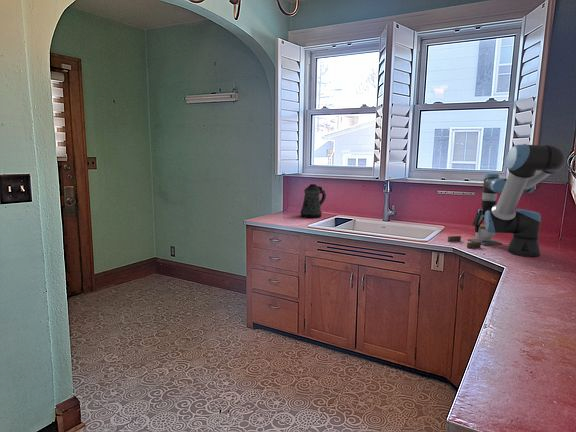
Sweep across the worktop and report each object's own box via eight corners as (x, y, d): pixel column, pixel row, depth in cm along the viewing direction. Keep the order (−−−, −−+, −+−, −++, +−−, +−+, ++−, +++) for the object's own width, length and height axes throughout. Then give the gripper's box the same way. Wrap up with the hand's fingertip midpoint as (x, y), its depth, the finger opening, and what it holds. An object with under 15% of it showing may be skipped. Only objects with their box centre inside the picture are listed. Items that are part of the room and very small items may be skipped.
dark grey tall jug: (296, 216, 307) (296, 184, 303) (310, 213, 323) (311, 182, 318) (314, 219, 298) (315, 186, 293) (327, 216, 313) (328, 184, 308)
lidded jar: (490, 237, 240) (492, 221, 238) (497, 241, 229) (499, 225, 227) (472, 236, 241) (473, 221, 239) (478, 240, 230) (480, 224, 228)
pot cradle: (480, 247, 223) (480, 242, 222) (468, 248, 220) (469, 243, 220) (458, 240, 239) (459, 235, 238) (447, 241, 236) (448, 236, 236)
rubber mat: (501, 244, 231) (502, 243, 231) (484, 245, 227) (484, 244, 227) (484, 239, 243) (484, 237, 243) (467, 240, 239) (467, 239, 239)
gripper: (499, 198, 238) (495, 234, 242) (468, 199, 231) (464, 236, 235) (509, 200, 231) (505, 237, 235) (477, 201, 224) (473, 239, 228)
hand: (484, 237), depth 235 cm, fingers closed on lidded jar, 11 cm apart
